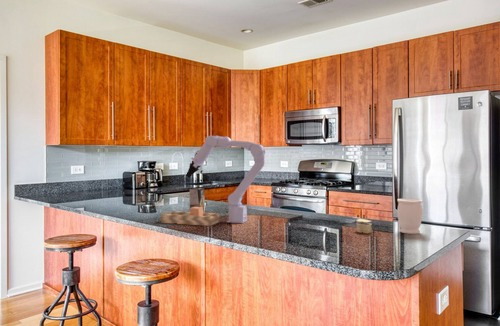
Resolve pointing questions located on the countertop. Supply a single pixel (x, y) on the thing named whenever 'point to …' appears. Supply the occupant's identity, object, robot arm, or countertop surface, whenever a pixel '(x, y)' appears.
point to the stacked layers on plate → (363, 226)
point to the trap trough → (189, 218)
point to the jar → (409, 215)
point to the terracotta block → (196, 211)
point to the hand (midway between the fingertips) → (188, 175)
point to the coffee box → (197, 198)
